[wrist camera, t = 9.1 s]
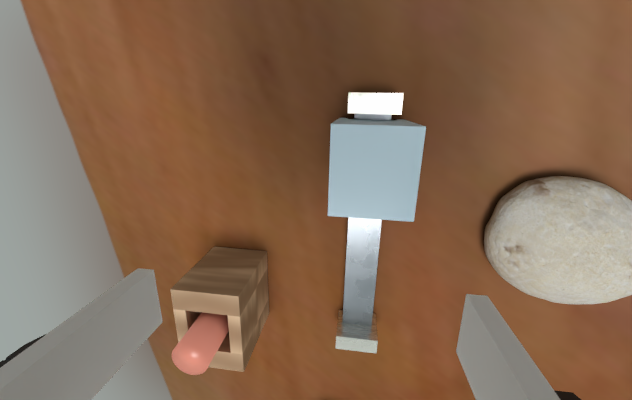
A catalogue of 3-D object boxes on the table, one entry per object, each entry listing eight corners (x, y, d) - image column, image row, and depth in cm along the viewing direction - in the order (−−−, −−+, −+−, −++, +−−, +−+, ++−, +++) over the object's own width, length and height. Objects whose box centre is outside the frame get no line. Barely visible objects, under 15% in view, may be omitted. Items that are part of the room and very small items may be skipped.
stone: (465, 210, 32) (457, 273, 28) (533, 145, 24) (538, 218, 20) (584, 260, 31) (596, 335, 26) (697, 208, 23) (744, 303, 18)
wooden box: (213, 246, 33) (170, 289, 25) (267, 251, 32) (238, 296, 24) (219, 307, 35) (181, 363, 28) (269, 313, 34) (243, 371, 27)
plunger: (216, 282, 30) (169, 342, 23) (244, 285, 30) (206, 346, 22) (218, 307, 31) (174, 372, 24) (246, 310, 31) (209, 377, 23)
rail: (350, 94, 26) (348, 92, 22) (396, 94, 25) (403, 93, 22) (338, 320, 33) (335, 348, 30) (374, 324, 33) (376, 353, 29)
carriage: (339, 117, 27) (330, 123, 18) (404, 119, 26) (426, 126, 17) (336, 182, 28) (327, 215, 20) (396, 185, 28) (413, 221, 19)
